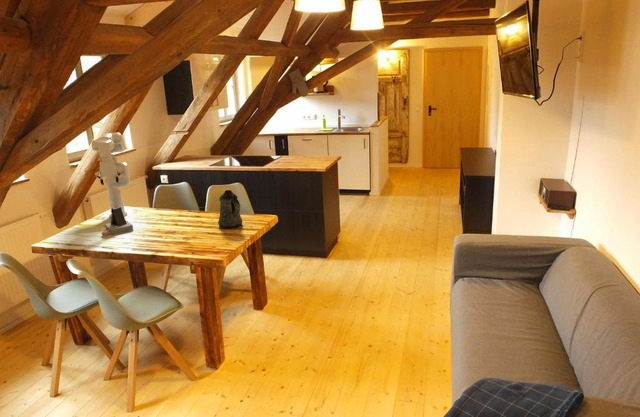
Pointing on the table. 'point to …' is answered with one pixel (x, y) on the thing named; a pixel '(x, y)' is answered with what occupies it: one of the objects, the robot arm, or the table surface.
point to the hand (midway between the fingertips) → (110, 183)
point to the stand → (119, 228)
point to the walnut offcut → (106, 233)
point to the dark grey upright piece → (229, 211)
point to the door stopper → (117, 217)
